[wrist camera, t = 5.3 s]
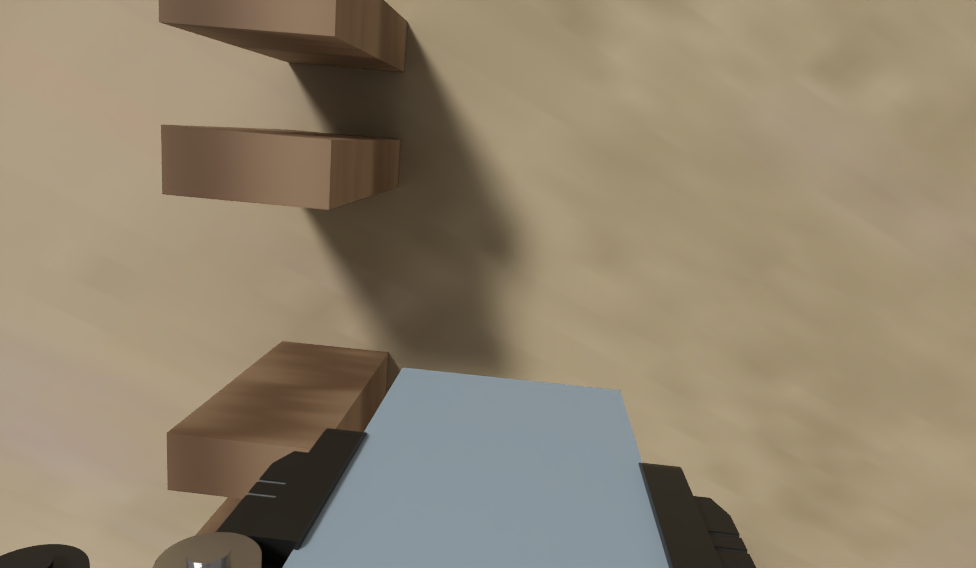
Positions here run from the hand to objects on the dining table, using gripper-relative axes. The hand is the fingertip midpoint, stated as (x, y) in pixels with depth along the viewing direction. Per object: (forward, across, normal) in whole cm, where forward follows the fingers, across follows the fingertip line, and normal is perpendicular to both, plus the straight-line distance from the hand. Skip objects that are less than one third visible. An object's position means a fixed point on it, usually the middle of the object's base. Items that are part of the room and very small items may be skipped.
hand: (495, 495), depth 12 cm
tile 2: (+18, +8, -5) cm, 20 cm away
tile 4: (+18, +8, +5) cm, 20 cm away
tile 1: (+18, +8, -10) cm, 22 cm away
